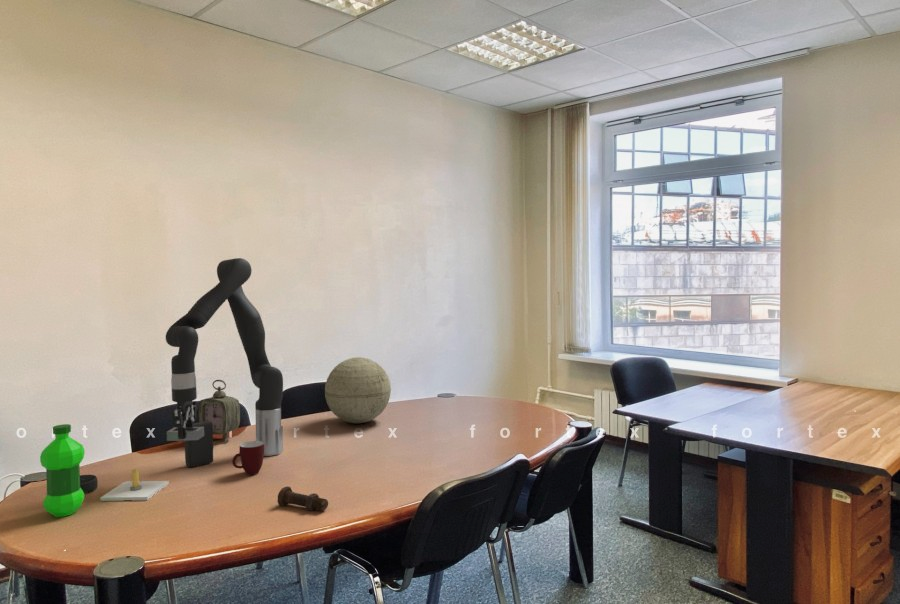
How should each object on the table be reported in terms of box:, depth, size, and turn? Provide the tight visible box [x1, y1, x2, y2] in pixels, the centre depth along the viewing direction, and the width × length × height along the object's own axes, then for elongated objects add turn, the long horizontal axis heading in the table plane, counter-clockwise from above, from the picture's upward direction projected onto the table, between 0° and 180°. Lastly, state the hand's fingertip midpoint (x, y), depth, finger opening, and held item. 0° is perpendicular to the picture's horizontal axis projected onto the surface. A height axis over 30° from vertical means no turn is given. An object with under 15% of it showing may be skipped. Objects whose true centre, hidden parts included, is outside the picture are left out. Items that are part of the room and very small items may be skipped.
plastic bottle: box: [39, 423, 85, 518], centre depth 167 cm, size 10×10×25 cm
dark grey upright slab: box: [184, 421, 214, 468], centre depth 210 cm, size 9×4×15 cm, turn 134°
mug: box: [231, 440, 265, 476], centre depth 200 cm, size 10×8×10 cm
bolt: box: [277, 486, 329, 512], centre depth 171 cm, size 6×5×15 cm
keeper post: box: [99, 468, 170, 502], centre depth 183 cm, size 14×14×7 cm
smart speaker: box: [80, 474, 99, 495], centre depth 185 cm, size 9×9×4 cm
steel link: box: [166, 426, 204, 442], centre depth 196 cm, size 10×6×3 cm, turn 92°
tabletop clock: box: [198, 379, 241, 444], centre depth 242 cm, size 14×9×25 cm, turn 68°
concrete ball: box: [324, 356, 392, 424], centre depth 270 cm, size 30×30×30 cm
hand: (186, 435), depth 196 cm, fingers closed on steel link, 5 cm apart
